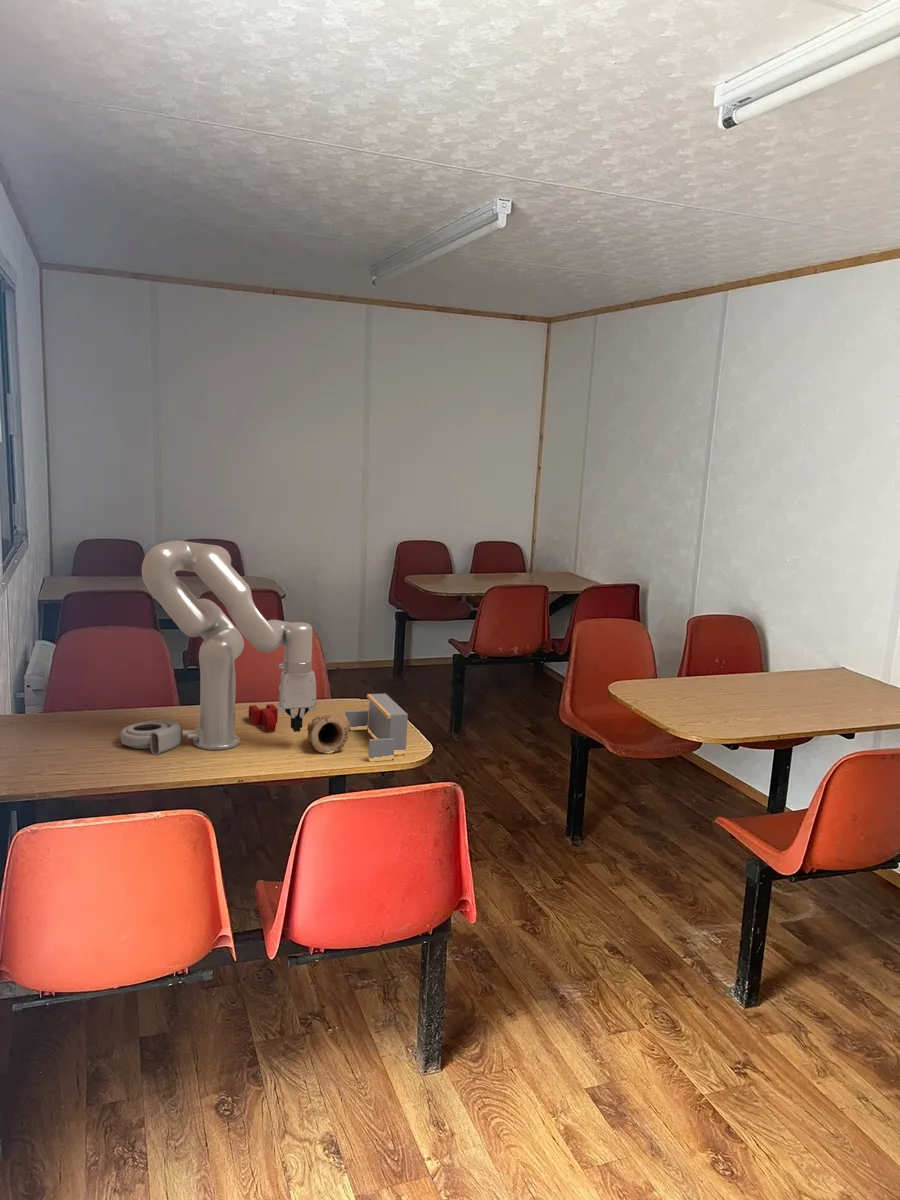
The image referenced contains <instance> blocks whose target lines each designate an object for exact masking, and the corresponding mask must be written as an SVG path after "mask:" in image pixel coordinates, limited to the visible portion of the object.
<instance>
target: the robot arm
mask: <svg viewBox="0 0 900 1200" xmlns="http://www.w3.org/2000/svg"><path fill="white" fill-rule="evenodd" d="M178 571H186V572H193V573H195V574H196V575H197V576H198V577H199V579H201V581H202V582H203V583H204V584H205V585H206V587H208V589H210V591H211V592H212V593H213V594H214V595H215V596H216V597H217V599H218V600H219V601H220V602H221V603H222V604H223V606H224V607H225V608H226V611H227V613H228V615H229V616H230V618H231V619H232V621H231V620H230V618H228V616H227V615H226V614H225V613H224V612H223V610H222V608H220V607H219V606H218V604H216V603H215V602H214V601H212V600H210V599H209V598H197V597H196V596H195V595H194V594H193V593H192V592H191V590H190V589H189V588H188V586H187V585H186V584H185V583H184V582H183V581H181V580H180V579H179V578H178V577H177V575H176V572H178ZM141 577H142V580H143V583H144V584H145V587H146V589H147V591H149V593H150V594H151V595H152V596H153V597H154V599H155V600H156V601H157V602H158V603H159V605H160V606H161V607H162V609H164V611H165V612H166V613H167V615H168V616H169V617H170V618H171V620H172V621H173V622H174V623H175V624H176V626H177V627H178V628H179V629H180V630H181V632H182V633H183V634H184V635H186V636H188V637H191V638H192V637H193V638H197V637H201V638H202V639H203V641H202V643H201V644H200V648H199V652H198V660H199V661H198V662H199V672H200V673H199V675H200V681H199V683H200V686H199V687H200V688H199V689H200V695H199V696H200V698H199V701H200V703H199V725H197V728H194V729H183V730H181V738H187V740H188V739H190V740H191V739H193V745H194V746H195V747H197V748H199V749H203V750H207V751H208V750H210V751H222V750H227V749H228V750H229V749H232V748H235V747H236V746H239V744H240V743H241V741H240V740H241V738H240V736H238V735H236V734H235V725H236V724H235V720H236V719H235V718H236V714H235V713H236V688H237V687H236V685H237V683H236V681H237V680H236V677H237V676H236V667H235V660H236V659H237V658H238V657H239V656H240V655H241V654H242V653H243V651H244V646H245V641H244V638H245V639H246V640H247V641H248V642H249V643H250V644H251V645H252V646H253V648H255V649H256V650H258V651H259V652H261V653H271V652H273V651H275V650H276V649H277V648H278V647H280V646H284V657H283V658H284V660H283V662H281V663H278V668H279V669H282V671H281V672H280V673H281V675H280V677H279V683H278V684H279V685H278V696H277V697H278V698H277V701H278V705H277V707H276V708H277V709H278V712H282V713H286V714H287V715H288V716H289V717H290V728H291V729H292V730H293V732H294V733H297V732H298V733H299V732H301V728H303V718H304V717H305V715H306V714H307V713H308V712H309V711H310V712H311V711H314V710H316V709H317V683H316V682H317V680H316V675H315V671H314V670H312V665H313V663H312V659H313V657H312V656H313V627H312V625H311V624H310V623H306V622H299V621H298V622H295V621H293V622H289V621H285V620H280V619H269V620H266V618H265V617H264V616H263V615H262V613H261V612H260V611H259V610H258V609H257V607H256V605H255V604H256V603H254V599H253V596H252V595H253V594H252V590H251V588H250V586H249V583H247V582H246V581H245V580H244V578H243V577H241V575H240V574H239V573H238V572H237V571H236V569H235V568H234V567H233V566H232V558H231V555H230V553H229V551H228V550H227V549H226V548H224V547H223V546H220V545H216V544H209V543H207V544H206V543H201V542H192V541H186V540H169V541H166V542H161V543H159V544H157V545H155V546H153V547H152V548H151V549H149V550H148V551H147V552H146V554H145V556H144V558H143V561H142V564H141ZM295 709H298V711H297V714H296V711H295Z"/></svg>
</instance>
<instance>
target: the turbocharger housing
mask: <svg viewBox="0 0 900 1200" xmlns="http://www.w3.org/2000/svg"><path fill="white" fill-rule="evenodd" d="M181 729H182V727H181V725H180V724H179V723H178V722H176V721H173V720H163V719H162V720H161V719H160V720H159V719H155V720H147V721H141V722H140V721H139V722H137V723H132V724H129V725H128V726H126V727H124V728H123V729H122V730H121V731H120V742H121V744H123V746H128V747H130V748H131V749H132V748H133V749H138V750H139V749H140V750H141V749H143V750H144V749H150V752H151V754H152V755H154V754H155V756H158V755H160V754H162V753H165V752H168V751H170V750H173V749H176V747H177V746H179V745H180V743H181V741H182V730H181Z"/></svg>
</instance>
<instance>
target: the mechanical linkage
mask: <svg viewBox="0 0 900 1200" xmlns="http://www.w3.org/2000/svg"><path fill="white" fill-rule="evenodd" d="M265 706H266V707H264V708H259V707H258V706H257V705H256V704H254V705H253V704H252V705H248V719H250V720H251V721H250V720H249V721H250V723H251V722H252V723H253V724H252V723H251V724H252V725H262V726H263V727H264V728H263V727H262V726H261V727H262V728H263V729H264V730H266V731H267V732H266V731H265V732H266V733H270V732H269V731H274V732H276V728H277V725H276V723H277V724H278V712H279V711H278V709H277V708H278V707H276V706H275V705H274V704H273V703H272V704H266V705H265Z"/></svg>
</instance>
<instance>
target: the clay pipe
mask: <svg viewBox="0 0 900 1200" xmlns="http://www.w3.org/2000/svg"><path fill="white" fill-rule="evenodd" d="M349 730H350V723H349V721H348V719H347V717H346V715H345V714H339V715H329V714H328V715H327V714H326V715H323V716H317V717H315V718H313V719H312V721H311V722H309V723H308V725H307V740H308V741H309V742H310V743H311V744H312V747H313V748H314V750H316V751H317V752H319V753H321V752H330V751H337V752H339V751H340V750H341V749H343V748H344V746H345V745H346V743H347V742H348V739H349V735H350V734H349V733H350V731H349ZM338 750H339V751H338Z"/></svg>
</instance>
